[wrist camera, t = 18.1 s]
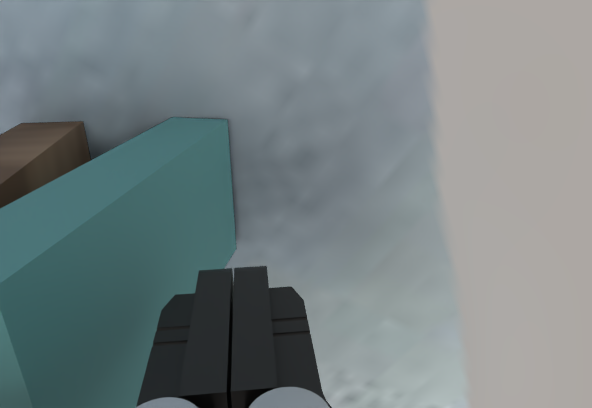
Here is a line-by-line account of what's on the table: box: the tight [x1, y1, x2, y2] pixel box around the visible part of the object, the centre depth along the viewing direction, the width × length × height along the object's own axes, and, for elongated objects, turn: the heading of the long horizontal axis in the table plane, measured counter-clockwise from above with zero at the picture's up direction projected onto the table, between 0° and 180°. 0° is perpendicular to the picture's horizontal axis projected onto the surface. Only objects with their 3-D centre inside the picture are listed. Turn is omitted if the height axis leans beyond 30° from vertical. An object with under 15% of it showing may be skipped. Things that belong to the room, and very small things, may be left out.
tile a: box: [0, 121, 91, 208], centre depth 12 cm, size 2×5×10 cm, turn 0°
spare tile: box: [0, 117, 236, 408], centre depth 12 cm, size 2×5×10 cm, turn 0°
